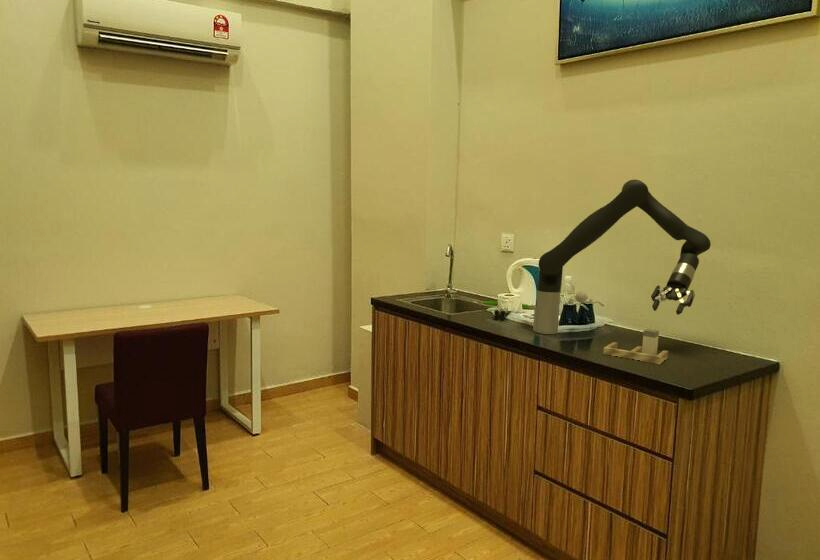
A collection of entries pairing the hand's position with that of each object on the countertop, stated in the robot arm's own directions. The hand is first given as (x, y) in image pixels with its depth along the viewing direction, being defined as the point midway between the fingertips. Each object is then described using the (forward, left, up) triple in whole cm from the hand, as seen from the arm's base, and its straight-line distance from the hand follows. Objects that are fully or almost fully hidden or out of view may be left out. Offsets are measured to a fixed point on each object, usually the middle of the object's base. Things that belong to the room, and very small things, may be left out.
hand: (665, 311), depth 234 cm
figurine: (-76, +25, -16) cm, 82 cm away
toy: (-41, +28, -16) cm, 53 cm away
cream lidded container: (-2, -10, -16) cm, 19 cm away
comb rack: (-6, -11, -16) cm, 20 cm away
